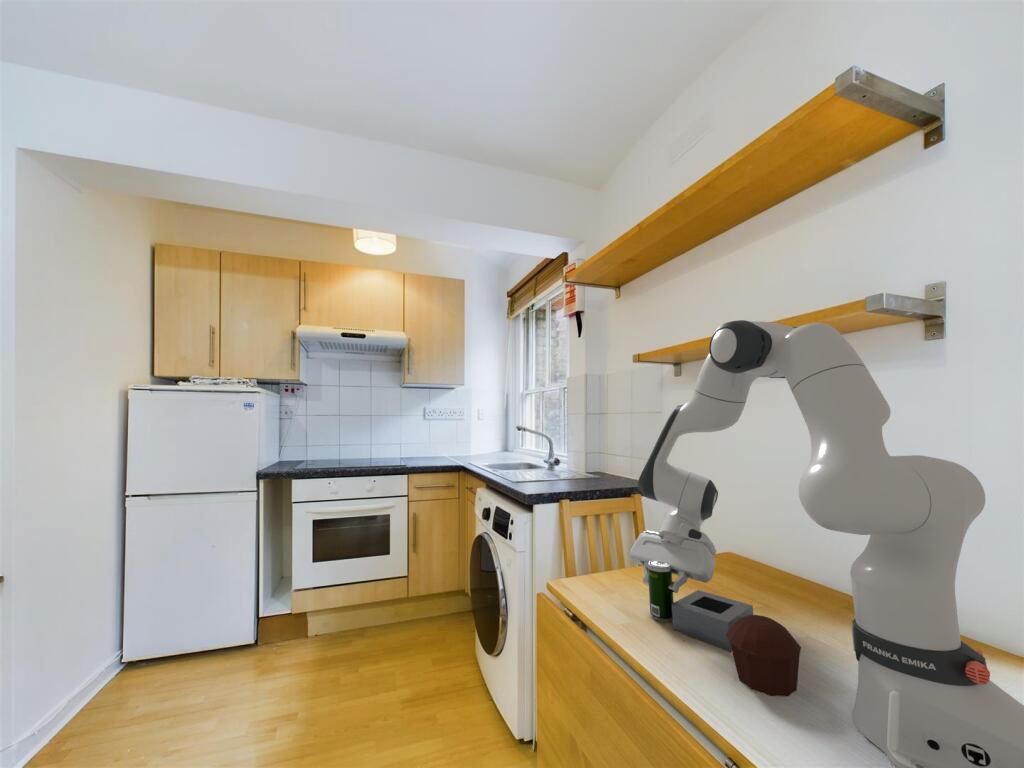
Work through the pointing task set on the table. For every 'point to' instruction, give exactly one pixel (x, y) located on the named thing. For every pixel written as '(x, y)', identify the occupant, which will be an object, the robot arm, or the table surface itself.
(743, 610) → the holder block
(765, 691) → the muffin
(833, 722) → the table surface
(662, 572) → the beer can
